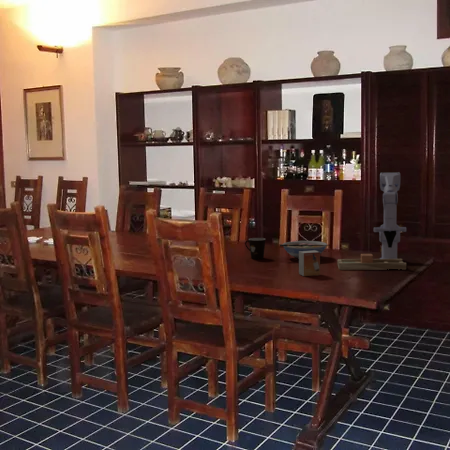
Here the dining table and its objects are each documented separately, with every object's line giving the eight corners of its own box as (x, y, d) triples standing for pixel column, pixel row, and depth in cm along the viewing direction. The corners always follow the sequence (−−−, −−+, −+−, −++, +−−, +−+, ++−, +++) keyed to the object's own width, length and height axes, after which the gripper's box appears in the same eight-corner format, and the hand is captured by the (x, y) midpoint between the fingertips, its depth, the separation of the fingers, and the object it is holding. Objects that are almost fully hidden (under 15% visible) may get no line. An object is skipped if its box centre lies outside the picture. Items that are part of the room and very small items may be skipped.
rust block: (360, 262, 287) (360, 253, 287) (371, 262, 287) (371, 253, 286) (361, 264, 283) (361, 255, 282) (372, 264, 282) (372, 255, 282)
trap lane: (337, 265, 292) (337, 259, 291) (401, 265, 289) (401, 258, 288) (339, 269, 281) (339, 263, 281) (406, 269, 278) (406, 263, 277)
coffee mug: (268, 258, 313) (268, 239, 312) (253, 260, 310) (252, 240, 309) (259, 255, 324) (258, 236, 323) (244, 256, 321) (243, 238, 320)
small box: (303, 276, 268) (303, 253, 267) (298, 274, 274) (298, 251, 272) (320, 275, 270) (320, 251, 269) (315, 272, 276) (315, 249, 274)
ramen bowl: (327, 254, 323) (327, 238, 322) (331, 262, 300) (331, 245, 299) (280, 254, 325) (280, 239, 324) (280, 262, 303) (279, 246, 302)
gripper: (375, 219, 278) (375, 248, 280) (407, 218, 276) (407, 248, 278) (373, 217, 285) (372, 246, 286) (404, 217, 283) (404, 246, 285)
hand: (389, 247), depth 283 cm, fingers closed
